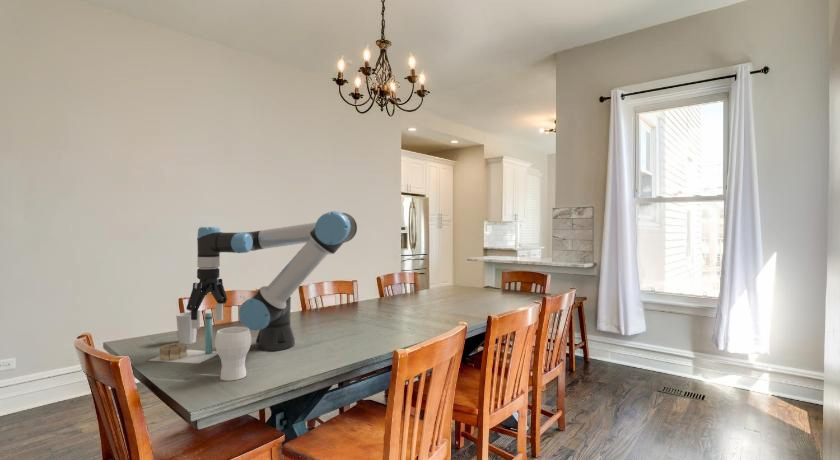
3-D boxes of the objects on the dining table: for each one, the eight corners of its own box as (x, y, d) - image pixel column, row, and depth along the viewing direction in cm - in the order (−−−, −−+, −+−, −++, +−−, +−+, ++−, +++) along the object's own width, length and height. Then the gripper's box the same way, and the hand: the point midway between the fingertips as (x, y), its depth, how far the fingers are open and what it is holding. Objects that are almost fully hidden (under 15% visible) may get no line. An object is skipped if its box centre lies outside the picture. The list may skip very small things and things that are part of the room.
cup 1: (188, 346, 171) (188, 316, 171) (171, 345, 172) (171, 315, 172) (202, 341, 179) (202, 312, 179) (186, 339, 180) (186, 311, 180)
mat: (223, 352, 162) (223, 351, 162) (198, 364, 148) (198, 363, 148) (176, 350, 165) (176, 349, 165) (148, 361, 151) (148, 360, 151)
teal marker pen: (213, 352, 161) (213, 313, 161) (209, 354, 158) (209, 314, 158) (207, 352, 161) (207, 312, 161) (203, 354, 159) (203, 314, 159)
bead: (191, 354, 159) (191, 343, 159) (175, 361, 151) (175, 349, 151) (171, 353, 160) (171, 342, 160) (154, 359, 152) (154, 348, 152)
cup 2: (222, 371, 141) (222, 326, 141) (255, 370, 142) (255, 325, 142) (209, 383, 131) (209, 334, 131) (245, 382, 132) (245, 333, 131)
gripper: (219, 264, 172) (219, 316, 173) (175, 270, 148) (174, 331, 148) (236, 265, 171) (236, 317, 171) (194, 271, 147) (194, 332, 147)
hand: (207, 324), depth 160 cm, fingers open, 13 cm apart
